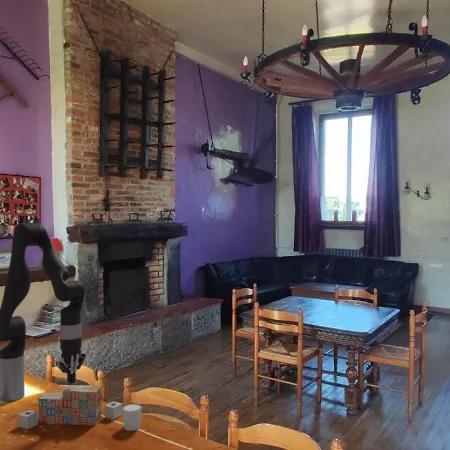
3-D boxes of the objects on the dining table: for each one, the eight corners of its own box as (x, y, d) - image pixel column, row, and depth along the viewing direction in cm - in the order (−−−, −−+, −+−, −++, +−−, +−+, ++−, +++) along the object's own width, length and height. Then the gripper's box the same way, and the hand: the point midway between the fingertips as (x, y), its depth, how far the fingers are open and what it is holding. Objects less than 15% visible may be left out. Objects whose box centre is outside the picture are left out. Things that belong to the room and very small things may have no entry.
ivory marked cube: (104, 417, 175) (104, 405, 175) (113, 413, 179) (113, 401, 179) (114, 420, 173) (114, 407, 173) (122, 415, 177) (122, 403, 177)
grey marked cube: (18, 426, 168) (18, 414, 168) (29, 422, 172) (29, 409, 172) (27, 429, 166) (27, 416, 166) (38, 424, 170) (37, 411, 170)
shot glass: (145, 424, 169) (145, 405, 169) (135, 432, 163) (135, 412, 163) (128, 421, 172) (128, 402, 171) (118, 429, 165) (118, 410, 165)
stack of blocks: (38, 424, 170) (37, 390, 170) (46, 416, 177) (45, 384, 176) (96, 425, 169) (95, 391, 168) (101, 418, 175) (101, 385, 175)
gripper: (76, 330, 180) (77, 376, 180) (49, 338, 168) (49, 387, 168) (91, 332, 176) (92, 379, 176) (64, 341, 164) (65, 390, 165)
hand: (71, 383), depth 172 cm, fingers closed
